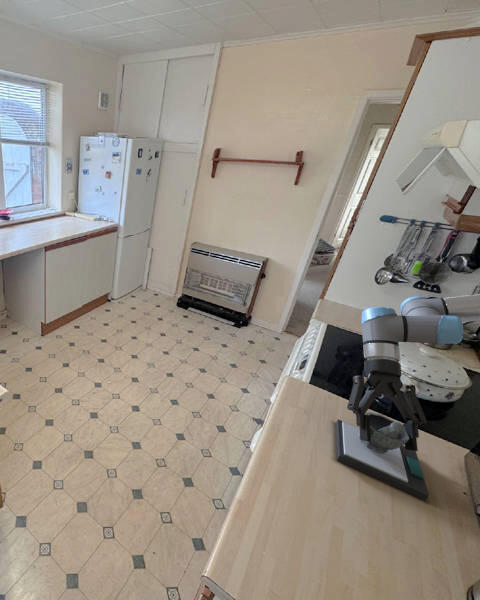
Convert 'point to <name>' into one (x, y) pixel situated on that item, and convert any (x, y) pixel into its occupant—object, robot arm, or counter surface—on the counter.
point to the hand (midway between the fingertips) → (388, 445)
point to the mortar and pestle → (385, 434)
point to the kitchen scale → (380, 461)
